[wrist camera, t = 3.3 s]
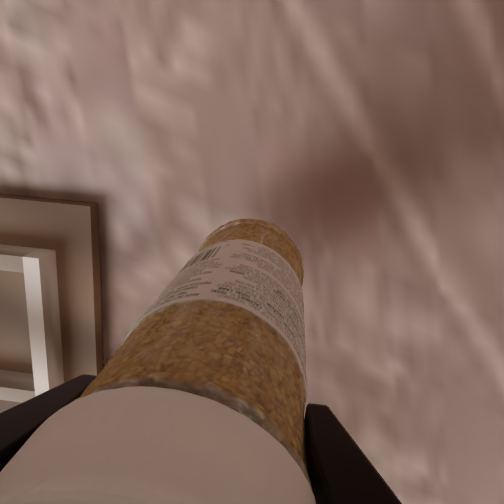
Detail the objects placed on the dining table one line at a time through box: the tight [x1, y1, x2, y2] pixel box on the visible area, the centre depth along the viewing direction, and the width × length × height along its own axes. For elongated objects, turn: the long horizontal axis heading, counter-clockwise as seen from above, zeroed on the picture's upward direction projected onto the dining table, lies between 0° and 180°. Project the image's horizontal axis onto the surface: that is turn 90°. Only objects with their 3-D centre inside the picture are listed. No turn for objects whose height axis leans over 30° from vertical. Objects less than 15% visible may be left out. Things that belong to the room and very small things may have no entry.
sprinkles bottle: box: [0, 219, 316, 504], centre depth 11 cm, size 5×5×13 cm
